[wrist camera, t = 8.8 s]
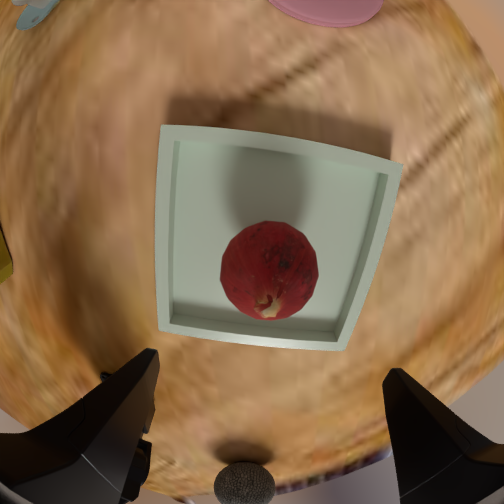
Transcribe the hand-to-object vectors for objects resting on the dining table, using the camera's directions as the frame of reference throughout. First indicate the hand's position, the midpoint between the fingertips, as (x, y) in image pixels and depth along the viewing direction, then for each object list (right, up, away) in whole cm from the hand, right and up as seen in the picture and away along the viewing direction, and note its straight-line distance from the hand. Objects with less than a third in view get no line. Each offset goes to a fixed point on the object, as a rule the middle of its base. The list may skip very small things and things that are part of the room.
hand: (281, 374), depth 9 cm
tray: (0, +5, +11) cm, 12 cm away
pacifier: (-21, +29, +2) cm, 36 cm away
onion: (0, +5, +11) cm, 12 cm away
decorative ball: (-2, -32, +27) cm, 42 cm away
